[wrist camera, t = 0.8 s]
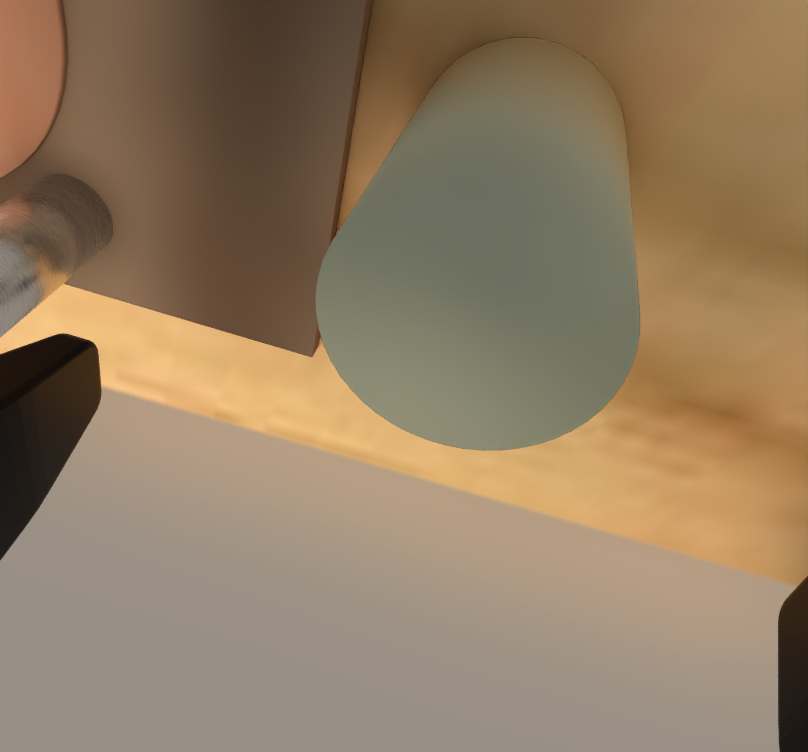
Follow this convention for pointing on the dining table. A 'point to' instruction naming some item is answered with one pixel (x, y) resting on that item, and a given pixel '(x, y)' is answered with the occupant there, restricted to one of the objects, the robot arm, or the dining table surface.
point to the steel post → (47, 241)
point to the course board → (192, 145)
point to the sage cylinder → (491, 256)
